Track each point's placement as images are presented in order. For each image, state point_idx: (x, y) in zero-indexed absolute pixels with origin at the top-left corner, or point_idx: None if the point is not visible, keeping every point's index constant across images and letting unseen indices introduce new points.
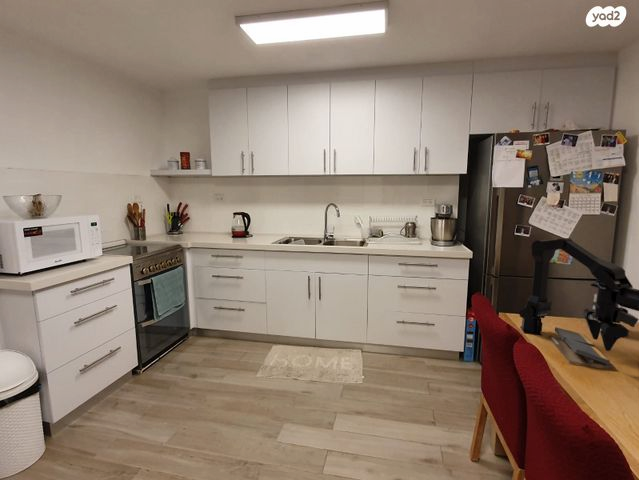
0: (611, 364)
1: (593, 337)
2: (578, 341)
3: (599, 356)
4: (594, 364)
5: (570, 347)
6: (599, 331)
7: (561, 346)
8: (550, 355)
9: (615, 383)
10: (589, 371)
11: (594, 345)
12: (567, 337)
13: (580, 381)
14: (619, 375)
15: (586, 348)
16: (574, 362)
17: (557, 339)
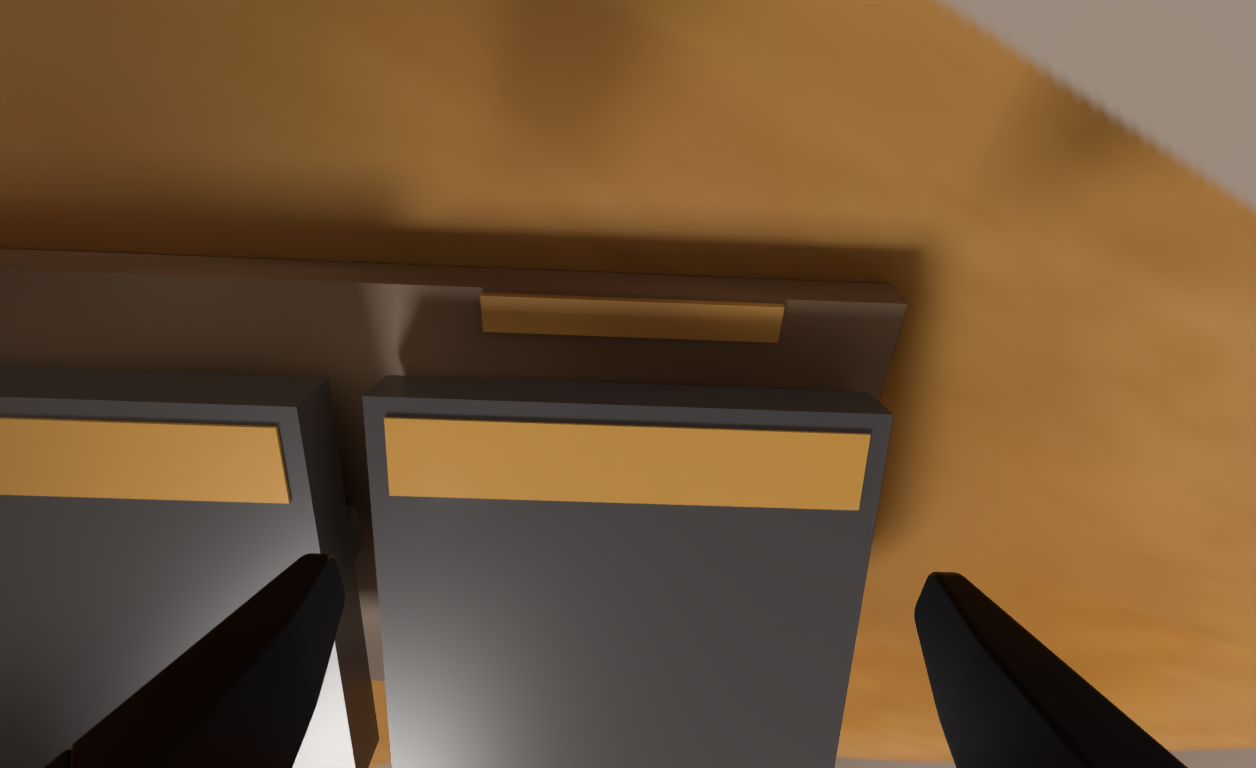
0: (813, 315)
1: (330, 638)
2: (340, 634)
3: (823, 538)
4: None
5: (375, 587)
6: (191, 743)
7: None
8: None
9: (1230, 440)
10: (943, 564)
11: (299, 418)
12: (324, 754)
13: (1136, 683)
14: (1045, 299)
15: (625, 638)
16: None
17: None
